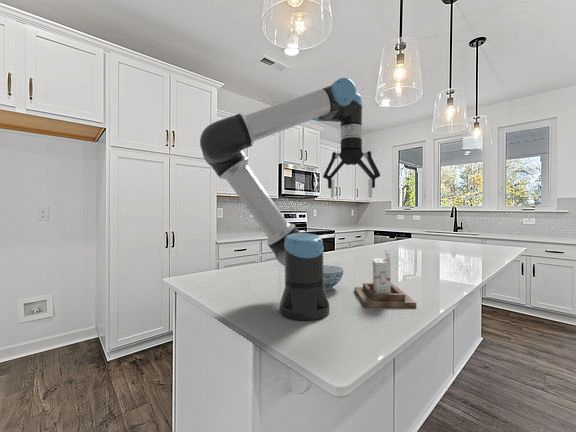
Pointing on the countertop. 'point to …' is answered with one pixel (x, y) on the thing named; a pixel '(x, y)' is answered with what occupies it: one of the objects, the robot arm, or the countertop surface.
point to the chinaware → (331, 276)
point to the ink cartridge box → (382, 275)
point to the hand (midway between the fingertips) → (351, 197)
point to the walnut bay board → (383, 297)
